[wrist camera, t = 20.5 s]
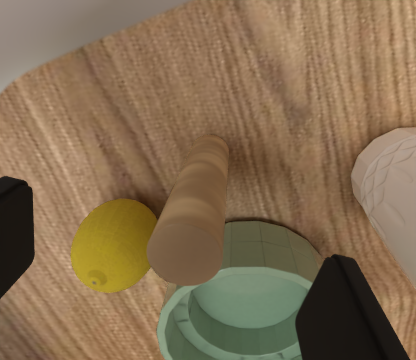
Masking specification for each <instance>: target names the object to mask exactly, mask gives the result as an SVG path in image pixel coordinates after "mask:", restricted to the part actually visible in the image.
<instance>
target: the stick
mask: <svg viewBox="0 0 416 360" xmlns="http://www.w3.org/2000/svg"><path fill="white" fill-rule="evenodd" d="M228 164H229V149H228V146H227V144H226V143H225V141H224V140H223V139H221V138H220V137H218V136H215V135H204V136H201V137H199V138H198V139H197V140H196V141H195V142H194V143H193V145H192V147H191V149H190V151H189V154H188V156H187V158H186V160H185V162H184V165H183V167H182V169H181V171H180V173H179V176H178V178H177V180H176V182H175V184H174V187H173V189H172V191H171V193H170V195H169V198H168V200H167V202H166V204H165V206H164V209H163V211H162V213H161V215H160V217H159V220H158V222H157V224H156V226H155V228H154V230H153V233H152V235H151V237H150V239H149V241H148V245H147V258H148V261H149V264H150V266H151V267H152V269H153V270H154V271H155V272H156V274H158V275H159V276H160V277H161V278H163V279H164V280H166V281H168V282H170V283H173V284H176V285H181V286H196V285H200V284H203V283H205V282H207V281H209V280H210V279H212V278H213V277H214V276H215V275H216V274H217V273H218V271H219V270H220V268H221V265H222V261H223V246H224V230H225V213H226V197H227V180H228Z"/></svg>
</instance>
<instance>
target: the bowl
mask: <svg viewBox="0 0 416 360" xmlns="http://www.w3.org/2000/svg"><path fill="white" fill-rule="evenodd" d="M323 262H324V260H323V258H322V257H321V256H320V254H319V253H318V252H317V251H316V250H315V249H314V247H313V246H312V245H311V244H310V243H309V242H308V241H307V240H306V239H304V238H302V237H301V236H299V235H297V234H296V233H294V232H292V231H290V230H289V229H287V228H285V227H282V226H278V225H273V224H269V223H265V222H261V221H239V222H229V223H226V224H225V230H224V246H223V261H222V265H221V268H220V270H219V271H218V273H217V274H216V275H215V276H214V277H213V278H212V279H210V280H209V281H207V282H205V283H203V284H200V285H196V286H181V285H176V284H173V283H170V282H169V284H168V288H167V291H166V295H165V298H164V302H163V305H162V309H161V313H160V317H159V321H158V326H157V330H156V331H157V332H156V333H157V337H158V342H159V347H160V351H161V354H162V355H163V357H164V358H165V360H302V356H301V352H300V347H299V342H298V338H297V333H296V328H295V319H296V315H297V313H298V311H299V309H300V307H301V305H302V303H303V301H304V299H305V297H306V295H307V293H308V291H309V289H310V287H311V285H312V284H313V282H314V280H315V278H316V276H317V274H318V272H319V270H320V268H321V266H322V264H323Z"/></svg>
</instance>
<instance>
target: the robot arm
mask: <svg viewBox="0 0 416 360" xmlns="http://www.w3.org/2000/svg"><path fill="white" fill-rule="evenodd" d="M34 255H35V252H34V221H33V192H32V188H31V187H29V186H28V184H27V182H26V181H24V180H20V179H16V178H12V177H8V176H4V177H1V178H0V299H1V298H2V296H3V295H4V294H5V293H6V292H7V291H8V290H9V289H10V288H11V286H12V285H13V284H14V283H15V282H16V281H17V280H18V279H19V278H20V277H21V275H22V274H23V273H24V272H25V271H26V270H27V269H28V268H29V266H30V265H31V264H32V262H33V259H34ZM295 328H296V333H297V338H298V342H299V347H300V352H301V356H302V360H410V359H409V357H408V355H407V353H406V351H405V350H404V348H403V346H402V344H401V342H400V340H399V339H398V337H397V335H396V333H395V331H394V330H393V328H392V326H391V324H390V322H389V321H388V319H387V317H386V315H385V313H384V311H383V310H382V308H381V306H380V304H379V302H378V301H377V299H376V297H375V295H374V293H373V292H372V290H371V288H370V286H369V284H368V282H367V281H366V279H365V277H364V275H363V273H362V272H361V270H360V268H359V266H358V264H357V262H356V261H355V260H354V259H353V258H350V257H345V256H341V255H337V254H334V255H332V256H331V258H330V257H327V258H326V259H325V260H324V262H323V264H322V266H321V268H320V270H319V272H318V274H317V276H316V278H315V280H314V282H313V284H312V285H311V287H310V289H309V291H308V293H307V295H306V297H305V299H304V301H303V303H302V305H301V307H300V309H299V311H298V313H297V315H296V319H295Z"/></svg>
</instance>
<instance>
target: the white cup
mask: <svg viewBox="0 0 416 360" xmlns="http://www.w3.org/2000/svg"><path fill="white" fill-rule="evenodd" d="M351 182H352V189H353V195H354V196H355V198H356V199H357V200H358V202H359V203H360V205H361V206H362V207H363V209H364V211H365V212H366V215H367V217H368V219H369V221H370V222H371V224H372V226H373V227H374V229H375V230H376V232H377V233H378V235H379V237H380V238H381V240H382V242H383V243H384V245H385V246H386V248H387V249H388V251H389V252H390V254H391V255H392V257H393V258H394V259H395V261H396V262H397V264H398V265H399V267H400V268H401V270H402V271H403V273H404V274H405V276H406V277H407V278H408V280H409V281H410V283H411V284H412V286H413V287H414V289H415V290H416V127H408V128H396V129H394V130H392V131H390V132H388V133H386V134H384V135H381V136H379V137H377V138H375V139H374V140H373V141H372V142H371V143H370V144H369V145H368V146H367V147H366V148H365V149H364V150H363V151H362V152H361V153H360V154H359V155H358V157H357V159H356V162H355V165H354V168H353V170H352V173H351Z"/></svg>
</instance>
